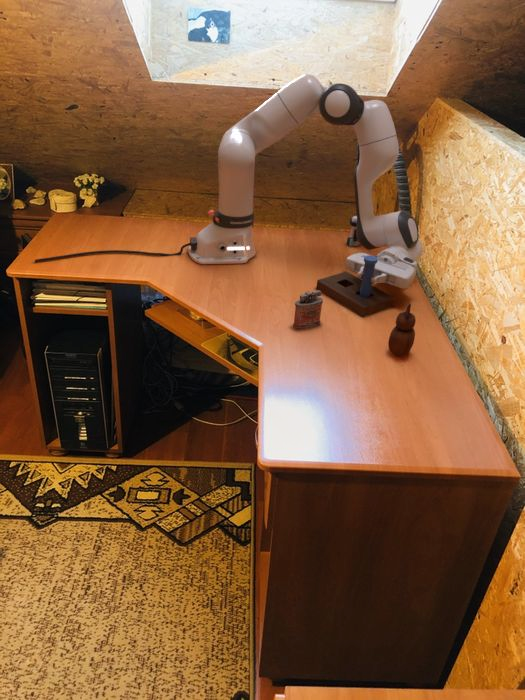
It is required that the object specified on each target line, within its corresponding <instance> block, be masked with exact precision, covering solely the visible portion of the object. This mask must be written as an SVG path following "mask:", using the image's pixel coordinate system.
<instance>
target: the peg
mask: <svg viewBox="0 0 525 700" xmlns="http://www.w3.org/2000/svg"><path fill="white" fill-rule="evenodd" d="M377 261H378V258H377V257H376V255H372V256H371V254H369V255H367V256H365V257H364V262H365V264H364V270H363V277H362V279H361V280H362V283H361V289H360V295H359V296H361V297H363V298H364V299H365V298H368V297H370V293H371V287H372V286H373V283H371V282H370V281H371V277H373V276H374V270H375V264H376V263H377Z"/></svg>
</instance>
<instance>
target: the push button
mask: <svg viewBox="0 0 525 700" xmlns="http://www.w3.org/2000/svg"><path fill="white" fill-rule="evenodd" d="M349 225H350V226H351V229H350V236H348V237H347V238H346V245H347V246H349V247H350V248H351V247H357V246H360V245H361V244H360V243H359V242H358V240H357V237H356V226H357V215H354V216H352V217H351V218H350V219H349Z"/></svg>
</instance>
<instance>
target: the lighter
mask: <svg viewBox="0 0 525 700" xmlns="http://www.w3.org/2000/svg"><path fill="white" fill-rule="evenodd" d="M321 296H322V292H321V291H320V290H313V291H308V290H307V291H305V293H300V294H299V299H298V300H295V302H294V306H295V307H294V308H295V309H294V319H293V324H292V328H293V330H295V331H303V330H309V329H313V328H316V327H318V326H321V315H322V308H323V307H322V306H323V303H324V299H323V298H322V297H321Z"/></svg>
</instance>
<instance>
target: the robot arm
mask: <svg viewBox="0 0 525 700" xmlns="http://www.w3.org/2000/svg"><path fill="white" fill-rule="evenodd" d="M316 114H318V115H321V117H322V119H323V120H324V121H326V122H327V123H328V124H330V125H331V126H336V127H341V126H350V127H351V128H352V129H353V130H354V133H355V136H356V140H357V144H358V149H359V160H358V164H357V166H355V169H354V173H353V184H354V198H355V199H354V201H355V212H356V216H357V226H356V237H357V240H358V242H359V243H360V245H361V247H363V248H364V249H366V250H368V251H371V250H375V249H380V248H383V247H387V248H385V249H384V250H382V251H380V252H379V253H377V254H376V255H375V257H377V258H378V261H377V263H376V264H375V270H374V276H373V277H371V281H370V282H371V283H372V285H376V284H378V283H379V284H381V283H384V284H388V285H390V286H393V287H396V288H398V289H399V288H400V289H403V290H406V289H408V288H410V287H411V286H412V285H413V283H414V282H415V278H416V275H417V270H418V263H419V261H420V259H421V258H422V256H423V252H424V246H423V243H422V241H421V240H420V239H419V228H418V223H417V221H416V219H415V218H414V216H412V214H410V213H409V212H408V211H406V210H400V211H394V212H389V213H386V214H385V213H384V214H379V215H375V213H374V201H373V186H374V184H375V182H376V181H377V179H379V178H380V177H381V176H382V175H385V173H387V172H388V171H389V170H390V169H391V168H392V167H393V166H394V165H395V163H396V161H397V160H398V157H399V154H400V145H399V140H398V135H397V131H396V127H395V122H394V120H393V116H392V114H391V112H390V109H389V106H388V105H387V104H386V102H385V101H383V100H379V99H371V100H367V101H364V100H363V99H362V98H361V96H360V95H358V92H357V91H356V90H355V88H353V87H352V86H351V85H349V84H346V83H340V82H339V83H333V84H331V85H329V86H327V87H325V86H324V85H323V84H322V83H321V82H320V80H319V79H318V78H317V77H315V76H314V75H312V74H306V73H305V74H303V75H300V76H299V77H297V78H295V79H293V80H292V81H290V82H288V83H287V84H286V85H284V86H283V87H282V88H281V89H279V90H278V91H277V92H275V93H274V94H273V95H272V96H271V97H270V98H269V99H267V100H265V102H263V103H262V104H260V106H259V107H258V108H256V109H254V111H252V112H251V113H249V114H248V115H246V116H245V117H243V118H242V119H241V120H239V121H238V122H236V123H235V124H234V125H233V126H231V127H230V128H229V129H228V130H226V131H225V133H224V134H223V136H222V138H221V140H220V144H219V146H218V150H217V174H218V175H217V176H218V209H217V210H216V211H215V210H213V209H210V210H208V213H207V214H208V216H209V218H212V221H211V222H210V223H209V224H208V225H207V226H205V227H204V228H202V229H201V230H200V231H199V232H197V234H196V235H195V236H194V237H189V242H188V243H185V244H183V245H182V246H181V247H180V250H179V251H178V252H176V253H163V252H148V251H140V250H125V249H124V250H122V249H121V250H119V249H113V250H111V249H110V250H94V251H83V252H76V253H71V254H65V255H58V256H57V255H56V256H51V257H44V258H43V257H42V258H36V259H34V262H35V263H38V262H45V261H52V260H59V259H64V258H71V257H79V256H86V255H93V254H94V255H95V254H108V253H109V254H112V253H113V254H115V253H117V254H118V253H119V254H121V253H122V254H124V253H125V254H138V255H140V254H141V255H147V256H162V257H171V256H179V255H181V254H182V253H183V250H184V249H185V248H186V247H188V249H187V254H188V256H189V257H190V259H191V260H192V261H194V262H195V263H197V264H199V265H227V264H228V265H229V264H230V265H232V264H233V265H234V264H246V263H248V261H249V260H251V258H253V257H255V256H256V254H257V253H256V248H255V242H254V225H255V211H254V196H255V195H254V194H255V193H254V192H255V165H256V164H255V163H256V156H257V155H258V154H259V153H261V152H263V151H264V150H266V149H267V148H269V147H271V146H272V145H274V144H276V143H278V142H280V141H281V140H282V139H284V138H285V137H286V136H287V135H288V134H290V133H291V132H292V131H294V130H295V129H296V128H298V127H299V126H300V125H301V124H302V123H303V122H305V121H306V120H308V119H309V118H310V117H312V116H314V115H316ZM367 255H371V254H368V253H365V252H357V253H354V254H350V255H349V256H347V258H346V261H345V268H346V270H348V271H351V272H354V273H356V274H357V275H356V277H357V278H359V279H361V280H362V277H363V270H364V264H365V262H364V257H365V256H367ZM371 256H373V255H371Z"/></svg>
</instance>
